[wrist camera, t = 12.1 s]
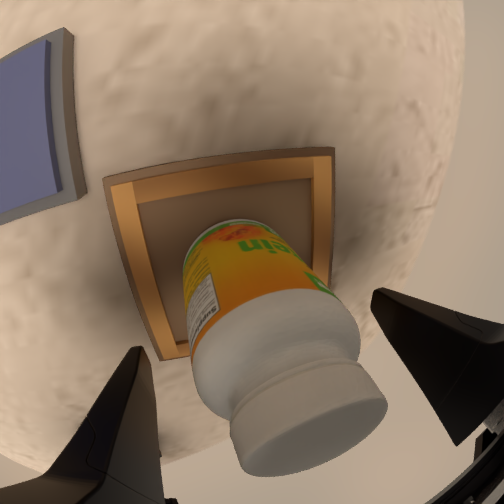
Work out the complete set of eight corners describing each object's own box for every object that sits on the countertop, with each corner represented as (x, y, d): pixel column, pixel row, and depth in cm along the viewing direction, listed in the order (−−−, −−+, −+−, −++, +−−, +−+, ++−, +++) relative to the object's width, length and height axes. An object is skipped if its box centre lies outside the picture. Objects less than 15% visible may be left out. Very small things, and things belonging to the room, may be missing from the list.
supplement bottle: (303, 238, 14) (441, 371, 6) (258, 320, 16) (332, 471, 7) (206, 199, 12) (288, 373, 3) (167, 297, 13) (184, 488, 5)
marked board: (324, 318, 18) (328, 324, 17) (159, 356, 15) (159, 364, 15) (330, 146, 13) (337, 148, 12) (104, 177, 11) (100, 179, 10)
